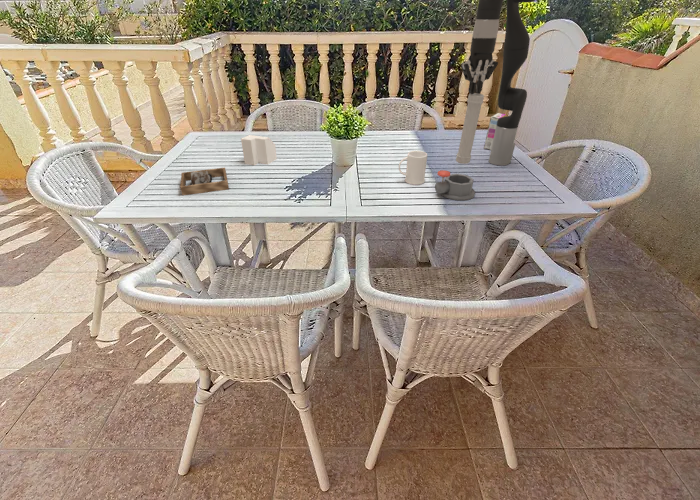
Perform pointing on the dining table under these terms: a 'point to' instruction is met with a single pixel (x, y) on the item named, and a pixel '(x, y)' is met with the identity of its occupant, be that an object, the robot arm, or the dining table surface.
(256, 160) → the corner bracket
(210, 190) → the parts corral
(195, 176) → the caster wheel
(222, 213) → the dining table surface
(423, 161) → the mug
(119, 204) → the dining table surface
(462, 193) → the valve socket
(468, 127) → the pipe
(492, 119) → the candy bar box
